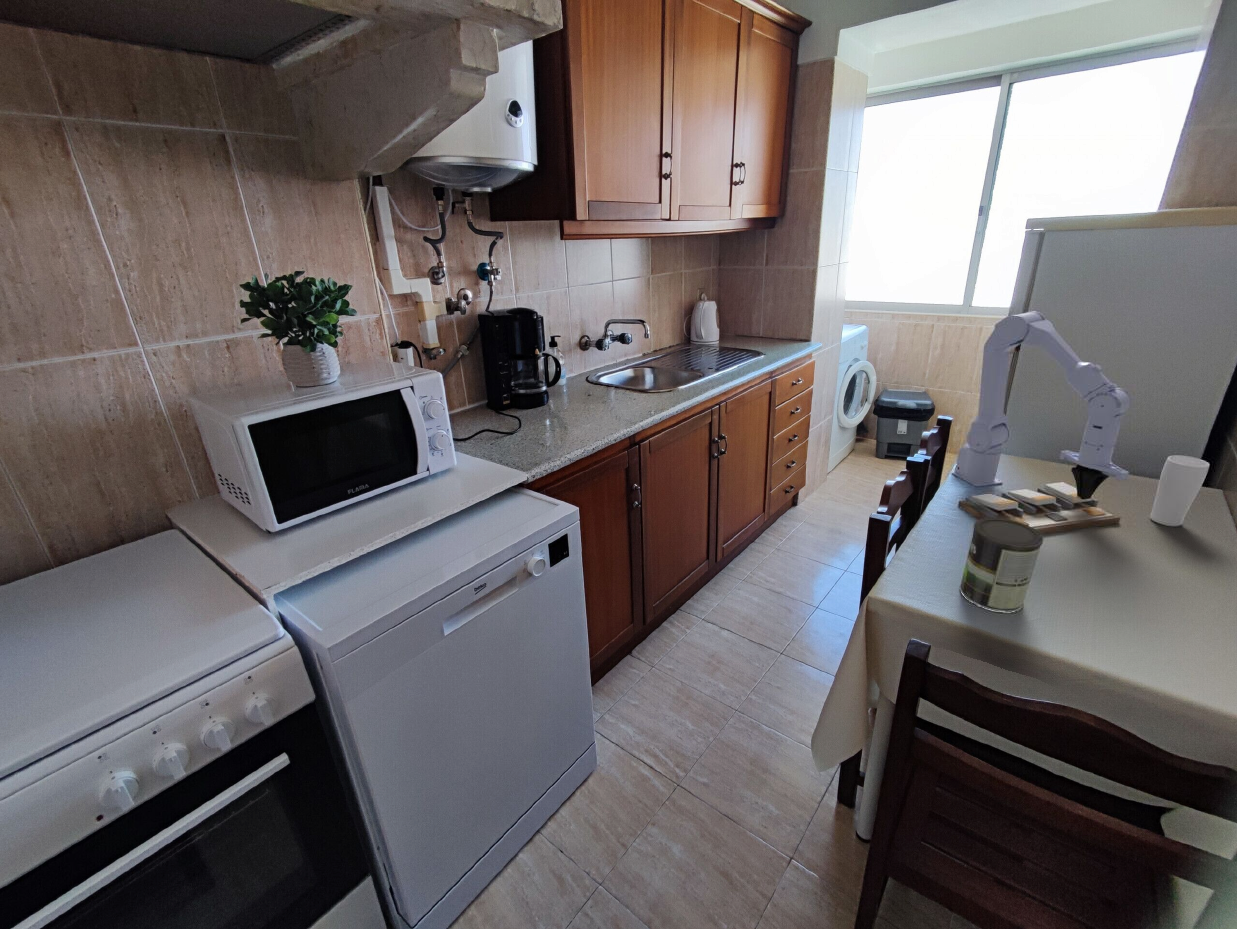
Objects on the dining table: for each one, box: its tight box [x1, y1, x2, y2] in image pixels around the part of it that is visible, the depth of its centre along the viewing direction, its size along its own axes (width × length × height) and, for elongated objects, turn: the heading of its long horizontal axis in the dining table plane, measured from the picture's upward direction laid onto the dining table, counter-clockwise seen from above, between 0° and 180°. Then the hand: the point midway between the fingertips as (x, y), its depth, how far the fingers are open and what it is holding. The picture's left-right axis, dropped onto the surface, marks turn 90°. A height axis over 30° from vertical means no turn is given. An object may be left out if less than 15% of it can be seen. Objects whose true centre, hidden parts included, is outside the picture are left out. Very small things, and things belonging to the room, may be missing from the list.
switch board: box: [957, 487, 1121, 535], centre depth 132 cm, size 16×28×3 cm, turn 100°
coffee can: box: [959, 518, 1044, 612], centre depth 102 cm, size 10×10×14 cm
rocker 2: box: [1043, 481, 1094, 503], centre depth 134 cm, size 8×5×1 cm, turn 10°
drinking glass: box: [1149, 454, 1211, 527], centre depth 124 cm, size 7×7×15 cm
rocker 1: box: [971, 493, 1018, 510], centre depth 131 cm, size 8×5×1 cm, turn 10°
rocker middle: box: [1007, 488, 1056, 505], centre depth 133 cm, size 8×5×1 cm, turn 10°
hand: (1083, 497), depth 131 cm, fingers closed, pressing on rocker 2
